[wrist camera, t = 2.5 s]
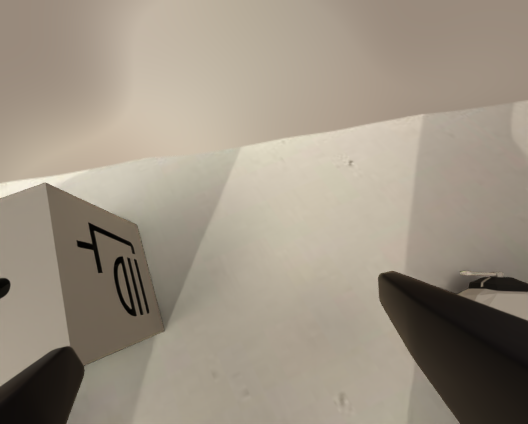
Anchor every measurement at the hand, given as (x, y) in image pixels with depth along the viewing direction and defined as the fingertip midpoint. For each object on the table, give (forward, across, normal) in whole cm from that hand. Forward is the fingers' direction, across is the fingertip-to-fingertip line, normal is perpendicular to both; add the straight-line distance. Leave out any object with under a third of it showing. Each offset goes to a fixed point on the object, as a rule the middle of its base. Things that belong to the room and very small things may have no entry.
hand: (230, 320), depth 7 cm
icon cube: (+14, +14, +6) cm, 21 cm away
